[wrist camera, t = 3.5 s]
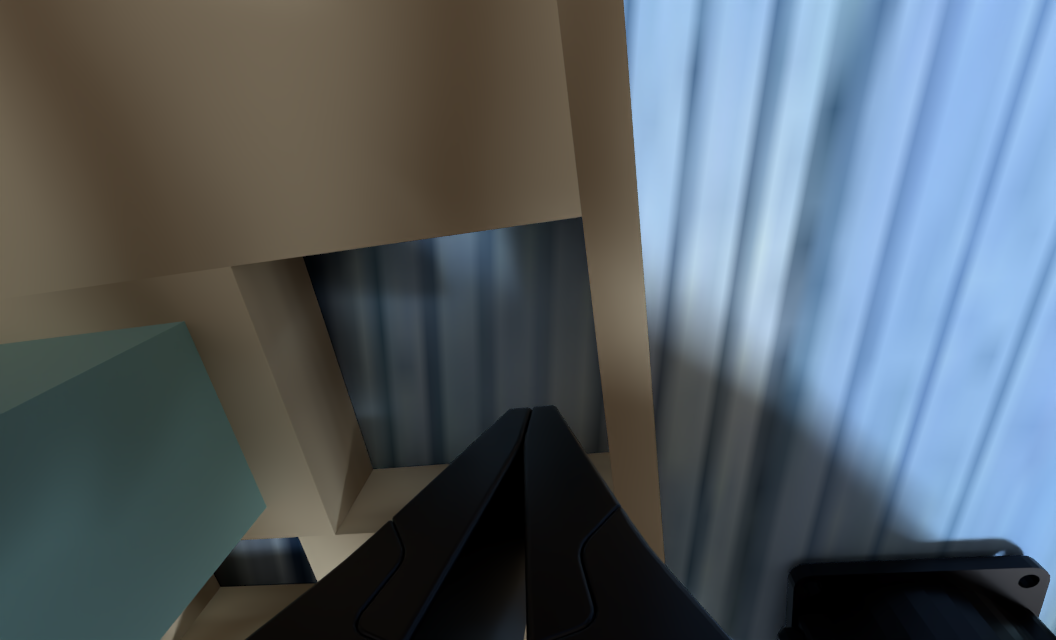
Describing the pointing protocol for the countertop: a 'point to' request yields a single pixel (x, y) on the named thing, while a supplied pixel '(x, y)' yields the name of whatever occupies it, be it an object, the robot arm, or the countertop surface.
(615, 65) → the trap board
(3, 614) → the block
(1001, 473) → the countertop surface
